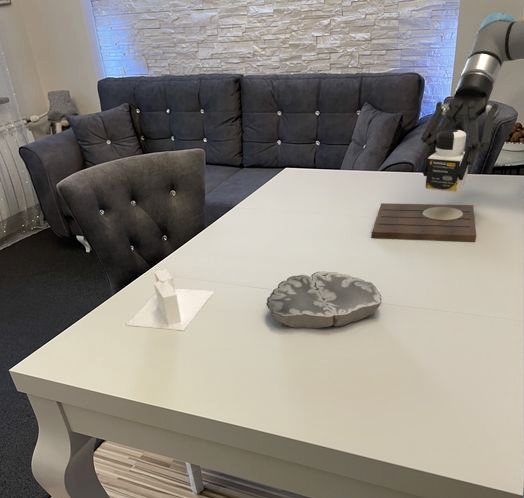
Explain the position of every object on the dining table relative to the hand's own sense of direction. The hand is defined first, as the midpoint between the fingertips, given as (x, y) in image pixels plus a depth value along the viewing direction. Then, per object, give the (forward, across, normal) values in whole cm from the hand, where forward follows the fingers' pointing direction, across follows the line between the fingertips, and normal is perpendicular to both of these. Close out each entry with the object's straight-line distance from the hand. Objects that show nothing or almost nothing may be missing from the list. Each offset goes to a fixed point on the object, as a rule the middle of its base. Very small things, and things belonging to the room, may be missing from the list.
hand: (441, 174), depth 118 cm
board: (+9, +3, -8) cm, 12 cm away
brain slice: (+42, +3, +26) cm, 49 cm away
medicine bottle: (0, 0, -5) cm, 5 cm away
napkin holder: (+51, +27, +35) cm, 67 cm away
